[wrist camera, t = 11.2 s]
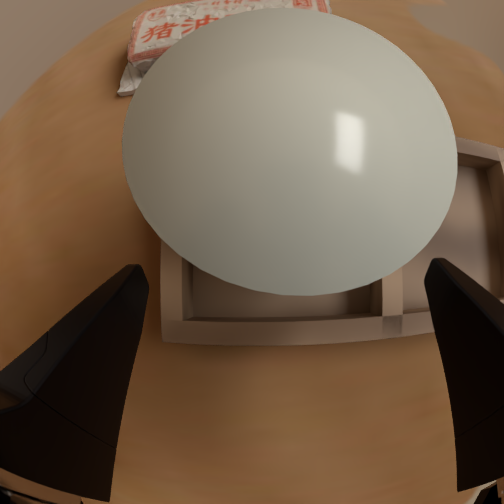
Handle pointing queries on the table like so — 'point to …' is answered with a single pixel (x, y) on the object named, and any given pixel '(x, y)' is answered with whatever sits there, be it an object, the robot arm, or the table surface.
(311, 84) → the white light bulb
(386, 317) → the divided tray
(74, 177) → the table surface
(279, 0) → the packaged product
